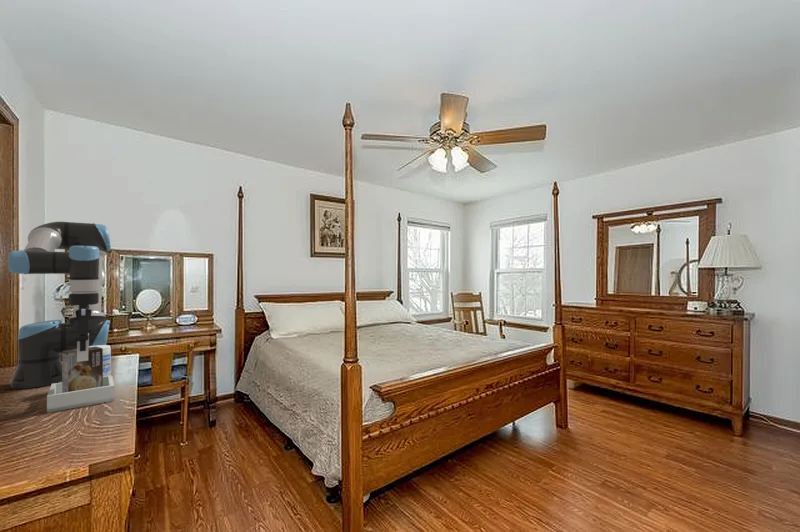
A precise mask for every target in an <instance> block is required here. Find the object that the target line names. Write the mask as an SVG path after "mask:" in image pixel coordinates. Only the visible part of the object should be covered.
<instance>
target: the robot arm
mask: <svg viewBox="0 0 800 532" xmlns="http://www.w3.org/2000/svg"><path fill="white" fill-rule="evenodd" d="M28 233H29V234H28V235H27V241H28V242H27V244H26V246H25V248H24V249H21V250H12V251H10V252H9V253H8V259H7V261H8V262H7V265H8V266H7V267H8V271H9V273H12V274H22V275H42V274H43V275H47V274H49V275H50V274H51V275H52V274H53V275H54V274H56V275H58V274H59V275H67V274H68V275H69V276H68V282H66V283H65V285H66V286H67V287H68V292H69V294H68V305H69V306H73V308H74V309H73V314H72V315H71V316H69V318H68V322H64V323H62V320H61V319H53V320H44V321H37V322H32V323H29V324H26V325H23V326H21V327H20V328H19V329H18V337H17V340H18V341H17V343H18V347H17V348H18V350H17V351H18V352H17V354H18V355H17V367H16V368H15V371H14V373H13V375H12V377H11V380H10V388H11V389H17V390H19V389H22V390H23V389H31V388H32V389H34V388H40V387H45V385H46V386H51V385H50V384H54V383H57V382H58V383H61V382H62V358H61V356H62V351H66V350H74V349H77V362H81V361H88V347H89V346H96V345H107V342H108V335H109V330H110V324H111V320H108V319H107V316H106V315H105V313H103V312H102V292H103V291H102V290H103V289H102V288H103V287H102V286H103V284H102V283H103V282H102V281H103V280H102V279H103V278H102V277H103V275H102V274H103V270H102V269H103V258H104V257H106V256H107V252H110V251H111V250H112V247H111V239H110V232H109V228H108V227H107V226H106V225H105V224H100V223H93V222H92V223H88V222H86V223H85V222H76V221H75V222H74V221H73V222H72V221H71V222H70V221H52V222H46V223H44V224H40V225H38V226H37V227H35V228H33V229H32V230H30V232H28ZM56 250H69V251H56ZM60 381H61V382H60Z"/></svg>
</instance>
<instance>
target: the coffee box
mask: <svg viewBox="0 0 800 532" xmlns="http://www.w3.org/2000/svg"><path fill="white" fill-rule="evenodd" d="M61 356H62V358H61V362H62V381H61V382H62V393H65V392H72V391H78V390H84V389H91V388H97V387H103V348H100V347H88V361H81V362H77V349H74V350H66V351H62V353H61Z"/></svg>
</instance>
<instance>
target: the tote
mask: <svg viewBox="0 0 800 532" xmlns="http://www.w3.org/2000/svg"><path fill="white" fill-rule="evenodd" d="M113 376H114V375H113V374H112V375H109V376H103V387H97V388H91V389H84V390H78V391H72V392H65V393H62V381H61V382H58V383H54V384H51V385H50V387H49V389H48V392H47V395H46V414H48V413H54V412H60V411H64V410H70V409H71V410H73V409H76V408H81V407H86V406H87V407H88V406H94V405H98V404H105V403H110V402H114V401H115V382H114V377H113ZM104 402H105V403H104Z"/></svg>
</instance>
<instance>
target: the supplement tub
mask: <svg viewBox="0 0 800 532" xmlns="http://www.w3.org/2000/svg"><path fill="white" fill-rule="evenodd" d="M89 347H100V348H103V376H109V375H111V373H112V372H111V370H112V369H111V366H112V348H111V345H109V344H106V345H96V346H89Z"/></svg>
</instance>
